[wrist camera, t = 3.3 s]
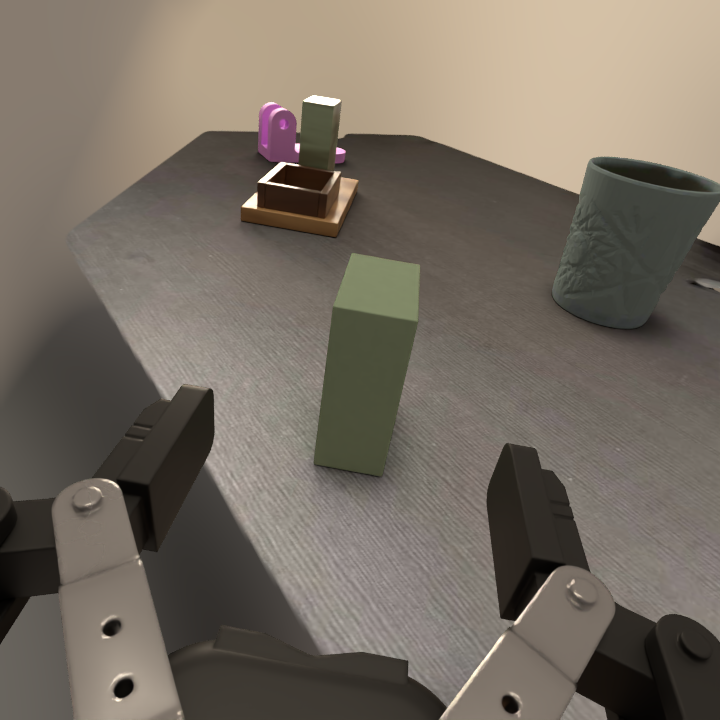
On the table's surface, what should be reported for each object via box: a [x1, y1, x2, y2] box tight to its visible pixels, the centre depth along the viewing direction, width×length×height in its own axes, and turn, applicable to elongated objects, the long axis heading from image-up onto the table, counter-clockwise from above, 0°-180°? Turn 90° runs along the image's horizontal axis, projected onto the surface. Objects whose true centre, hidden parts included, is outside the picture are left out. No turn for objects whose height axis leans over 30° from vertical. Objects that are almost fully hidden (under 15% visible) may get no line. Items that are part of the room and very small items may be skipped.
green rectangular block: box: [314, 253, 420, 476], centre depth 26 cm, size 6×4×9 cm, turn 173°
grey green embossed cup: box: [552, 157, 720, 329], centre depth 44 cm, size 10×10×12 cm
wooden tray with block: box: [241, 96, 358, 237], centre depth 57 cm, size 18×10×10 cm, turn 173°
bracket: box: [258, 102, 345, 163], centre depth 77 cm, size 13×6×7 cm, turn 117°
